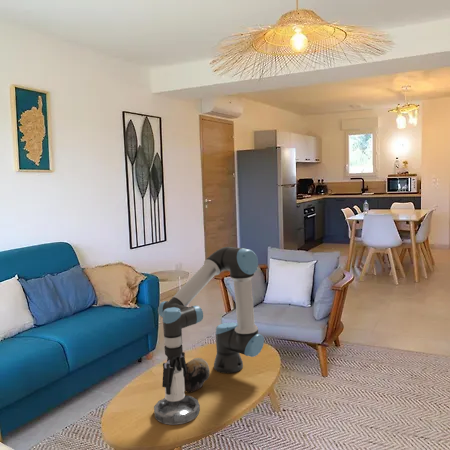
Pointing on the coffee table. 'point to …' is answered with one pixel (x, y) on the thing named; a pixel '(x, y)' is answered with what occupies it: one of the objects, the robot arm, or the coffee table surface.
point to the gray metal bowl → (177, 410)
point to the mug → (177, 385)
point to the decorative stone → (196, 374)
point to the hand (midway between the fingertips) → (176, 395)
